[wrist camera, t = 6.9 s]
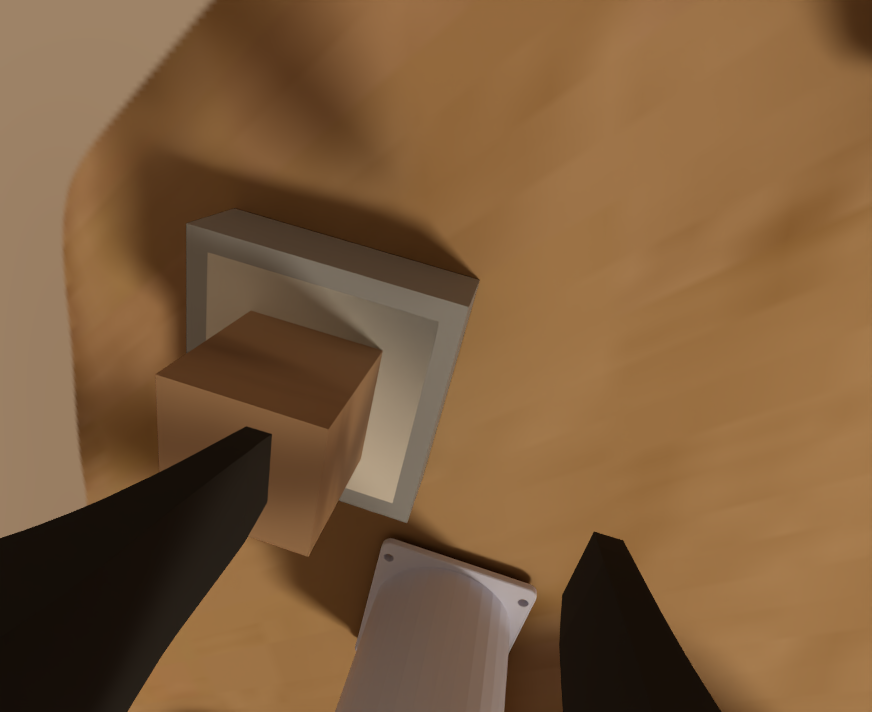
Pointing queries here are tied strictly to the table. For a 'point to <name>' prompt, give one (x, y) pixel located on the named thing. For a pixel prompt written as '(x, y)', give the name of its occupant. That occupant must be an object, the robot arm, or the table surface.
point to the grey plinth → (342, 328)
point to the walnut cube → (275, 414)
